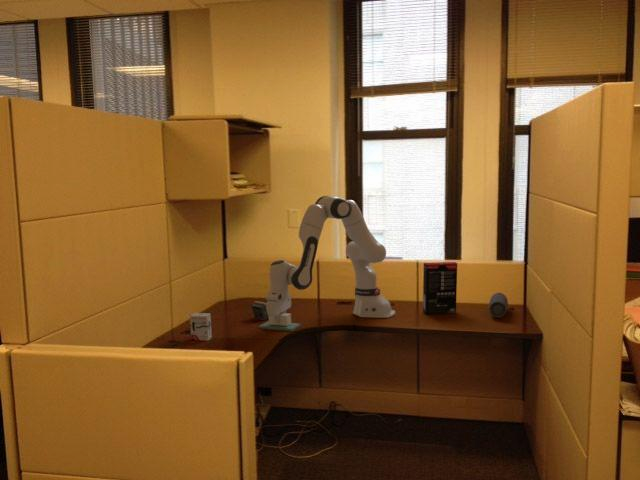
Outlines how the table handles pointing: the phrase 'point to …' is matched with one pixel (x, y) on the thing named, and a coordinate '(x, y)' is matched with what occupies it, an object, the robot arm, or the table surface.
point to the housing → (281, 319)
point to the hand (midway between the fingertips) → (280, 320)
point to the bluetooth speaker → (498, 305)
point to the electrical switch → (260, 310)
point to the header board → (280, 326)
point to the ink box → (200, 326)
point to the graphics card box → (439, 287)
